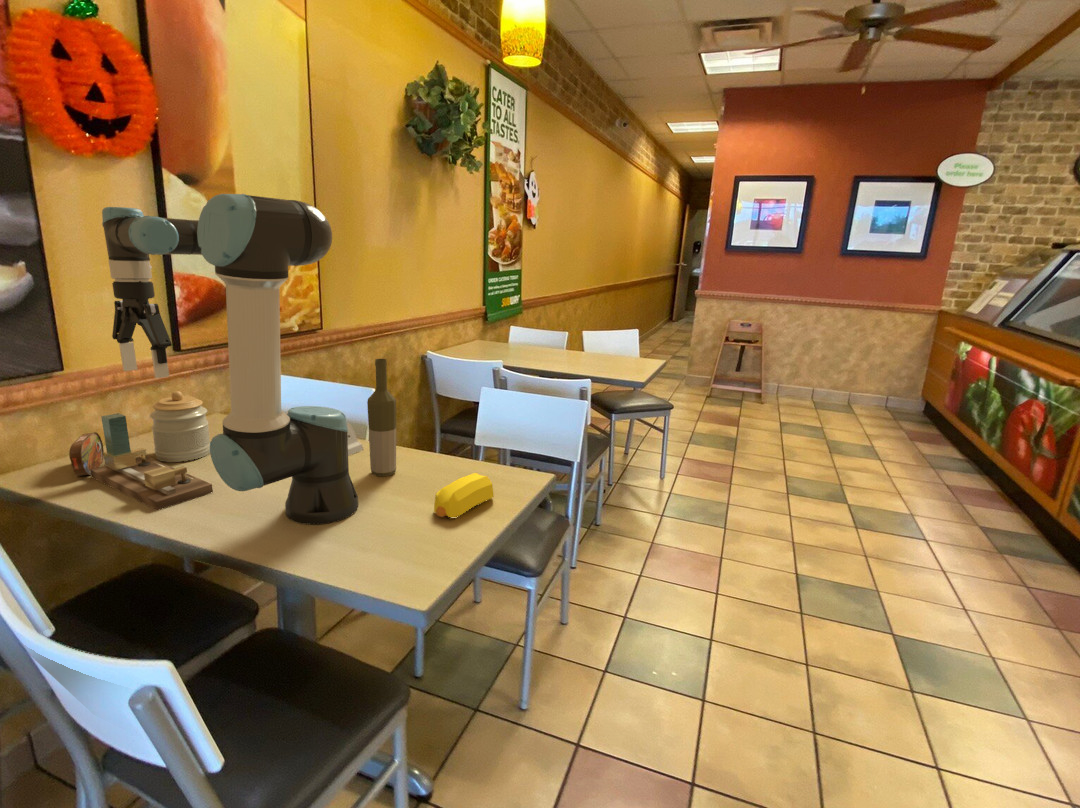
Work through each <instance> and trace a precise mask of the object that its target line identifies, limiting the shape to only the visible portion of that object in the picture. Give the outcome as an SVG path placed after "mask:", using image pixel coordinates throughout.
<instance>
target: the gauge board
mask: <svg viewBox="0 0 1080 808" xmlns="http://www.w3.org/2000/svg"><path fill="white" fill-rule="evenodd" d="M145 457H146V462H145V463H142V460H141V456H137V457H135V459H136V465H133V466H129V467H125V468H121V469H118V470H114V469H112V468H110V467H108V466H106V465H103V466H99V467H98V468H94V469H90V470H91V475H90V476H91V478H92V477H93V478H92V479H94V478H95V479H94V480H96V479H97V480H96V481H98V480H99V481H98V482H100V481H101V482H100V483H102V482H103V483H102V484H104V483H105V485H106V484H107V486H108V485H109V486H108V487H110V486H111V487H110V488H112V487H113V489H114V488H115V489H114V490H116V489H117V490H116V491H118V490H119V491H118V492H120V493H122V494H124V495H125V496H128V497H130V498H133V499H134V500H136V501H138V502H140V503H142V504H144V505H146V506H148V507H150V508H151V509H154V510H156V511H160V510H163V509H166V508H169V507H171V505H172V506H175V505H177V504H180V503H181V504H182V503H184V502H188V501H191V500H194V499H195V498H196V497H197V498H199V496H200V497H202V495H203V496H206V495H209V494H212V493H214V491H213V490H214V489H213V484H212V483H210V482H208V481H205V480H203V479H200V478H198V477H197V476H193V475H192V474H189V473H188V469H187V467H186V466H184V465H182V466H179V467H176V468H175V467H172V466H170V465H168V464H165V463H163V462H162V461H159V460H155V459H154V458H151V457H149V456H147V455H145ZM211 492H212V493H211ZM208 493H209V494H208ZM205 494H206V495H205ZM187 500H188V501H187ZM168 506H169V507H168ZM162 508H163V509H162ZM159 509H160V510H159Z"/></svg>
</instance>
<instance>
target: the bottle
mask: <svg viewBox="0 0 1080 808" xmlns="http://www.w3.org/2000/svg"><path fill="white" fill-rule="evenodd" d="M374 366H375V390H374V391H373V393H372V394H371V395H370V396H369V397H368V399H367V401H366V402H367V421H368V426H367V427H368V441H369V459H370V461H369V462H370V466H369V467H370V471H371V474H372V475H373V476H376V477H387V476H392V475H393V474H395V473H396V471H397V400H396V397H394V395H393V394H392V393H390V390H388V381H387V379H388V377H387V366H388V362H387V359H386V358H376V359H375V361H374Z"/></svg>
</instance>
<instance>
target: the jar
mask: <svg viewBox="0 0 1080 808" xmlns="http://www.w3.org/2000/svg"><path fill="white" fill-rule="evenodd" d="M203 404H204V402H203V401H202V400H201V399H198V398H197V397H195V396H191V395H184V394H183V392H182V391H178V390H177V391H173V392H172V393H171V395H170V396H169V397H164V398H161V399H159V400H158V401H157V402H155V403H153V404H152V408H153V410H154V411H152V412H151V413H150V414H149V418H151V419H152V426H151V427H150V428H151V430H152V435H153V436H152V437H153V443H154V450H153V451H154V455H155V456H156V459H157V461H160V460H161V461H160V462H164V461H166V463H182V462H181V461H184V462H189V461H188V460H190V461H194V459H195V460H198V458H199V459H201V457H202V458H204V457H206V456H208V455H209V454H210V442H211V441H210V429H209V423H210V422H209V421H208V419H207V417H206V414H208V409H207V408H206V407H204V406H202V405H203Z"/></svg>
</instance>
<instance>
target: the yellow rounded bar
mask: <svg viewBox="0 0 1080 808" xmlns="http://www.w3.org/2000/svg"><path fill="white" fill-rule="evenodd" d="M493 498H494V488H493V483H492V481H491V479H490V478H489V477H488V476H487V475H481V474H479V473H477V472H473V473H471V474H468V475H465V476H463V477H459V478H458V479H456V480H454V481H452V482H450V483H448V484H447V485H445V486H444V487H442V488H440V489H439V490H438V491H437V492H436V493H435V499H434V505H433V511H434V512H436V513H435V514H436V515H437V517H438V516H441V517H440V518H444V517H443V516H446V517H448V518H449V517H457V516H459V517H461V516H462V515H464V514H466V513H467V512H469V511H470V510H471V508H472V507H473V508H475V507H474V506H476V505H478V504H480V503H482V502H484V501H486V500H489V499H490V500H492V499H493ZM490 500H489V501H490ZM480 505H481V504H480ZM478 506H479V505H478ZM476 507H477V506H476ZM473 508H472V509H473ZM469 509H470V510H469ZM466 511H467V512H466ZM434 512H433V513H434ZM463 513H464V514H463ZM461 514H462V515H461ZM460 515H461V516H460Z"/></svg>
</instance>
